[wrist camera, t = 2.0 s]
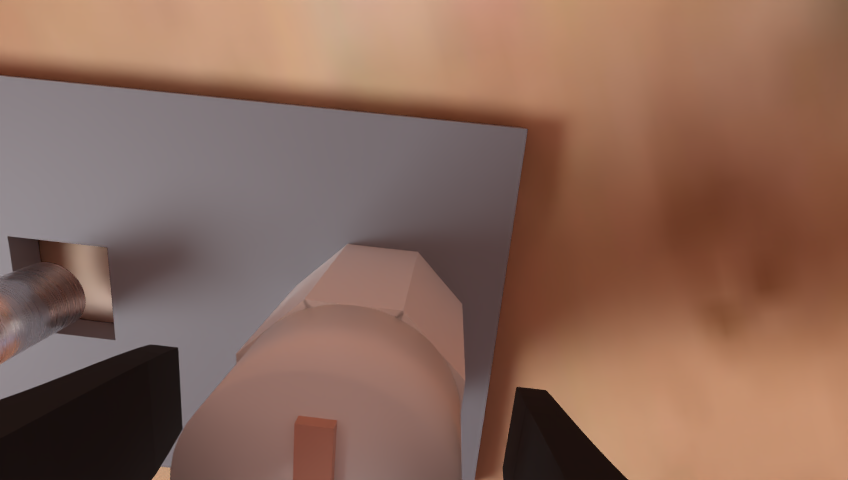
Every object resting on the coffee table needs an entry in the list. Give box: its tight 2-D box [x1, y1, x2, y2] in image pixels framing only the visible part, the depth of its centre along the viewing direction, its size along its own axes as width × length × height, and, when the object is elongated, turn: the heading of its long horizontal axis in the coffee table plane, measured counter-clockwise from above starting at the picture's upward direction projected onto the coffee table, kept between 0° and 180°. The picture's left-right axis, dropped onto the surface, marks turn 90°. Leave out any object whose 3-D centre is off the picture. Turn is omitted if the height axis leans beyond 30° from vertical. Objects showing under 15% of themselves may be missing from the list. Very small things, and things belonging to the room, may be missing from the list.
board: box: [0, 75, 528, 480], centre depth 15 cm, size 17×12×1 cm
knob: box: [170, 244, 465, 480], centre depth 11 cm, size 5×5×7 cm
